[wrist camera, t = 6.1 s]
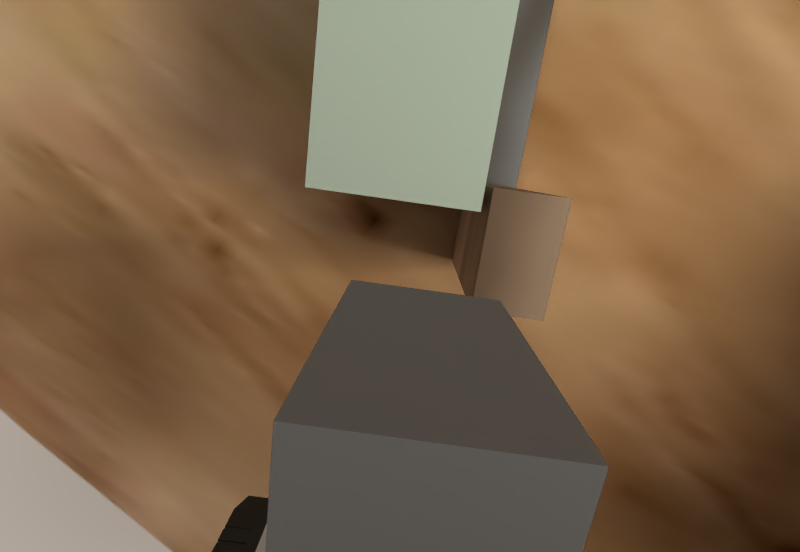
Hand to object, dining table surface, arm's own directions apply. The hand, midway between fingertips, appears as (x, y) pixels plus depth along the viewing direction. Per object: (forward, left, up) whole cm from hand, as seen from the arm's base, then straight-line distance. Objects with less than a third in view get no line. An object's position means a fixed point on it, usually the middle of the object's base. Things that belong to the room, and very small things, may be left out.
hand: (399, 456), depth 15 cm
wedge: (0, +1, -1) cm, 1 cm away
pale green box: (+2, -16, -13) cm, 21 cm away
